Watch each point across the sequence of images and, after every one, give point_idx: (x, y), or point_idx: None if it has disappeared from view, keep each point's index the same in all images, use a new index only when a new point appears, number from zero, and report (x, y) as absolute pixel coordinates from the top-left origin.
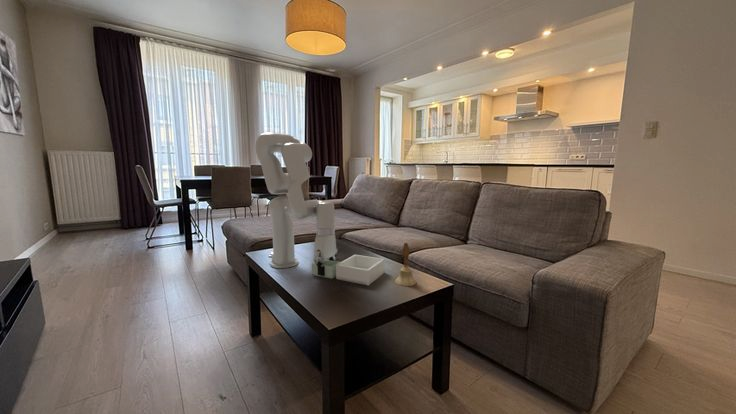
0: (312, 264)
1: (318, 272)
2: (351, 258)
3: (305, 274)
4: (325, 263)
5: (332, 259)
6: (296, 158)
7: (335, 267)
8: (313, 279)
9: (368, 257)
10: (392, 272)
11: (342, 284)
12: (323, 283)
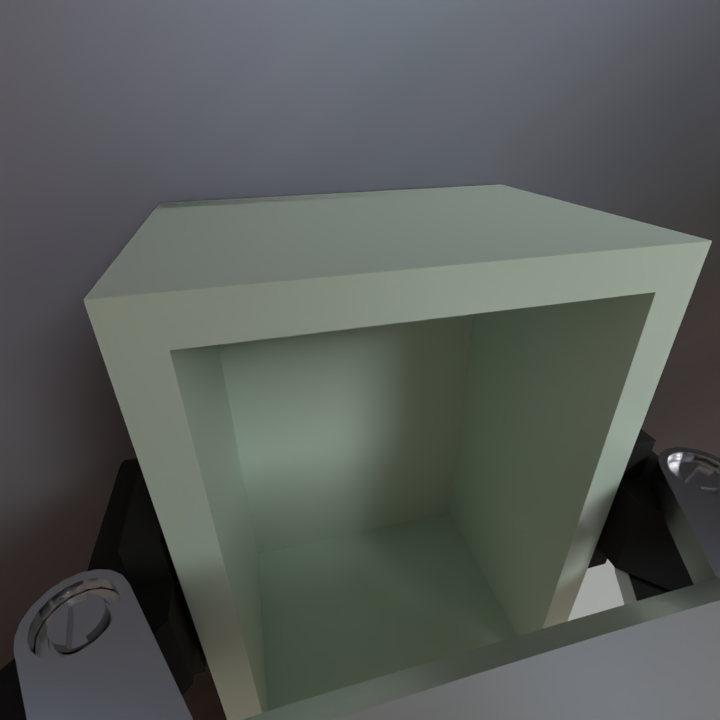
0: (104, 326)
1: (120, 476)
2: None
3: (63, 6)
4: (549, 364)
5: (622, 567)
6: None
7: (363, 672)
8: (9, 391)
9: None
10: None
11: (185, 693)
12: (32, 587)
